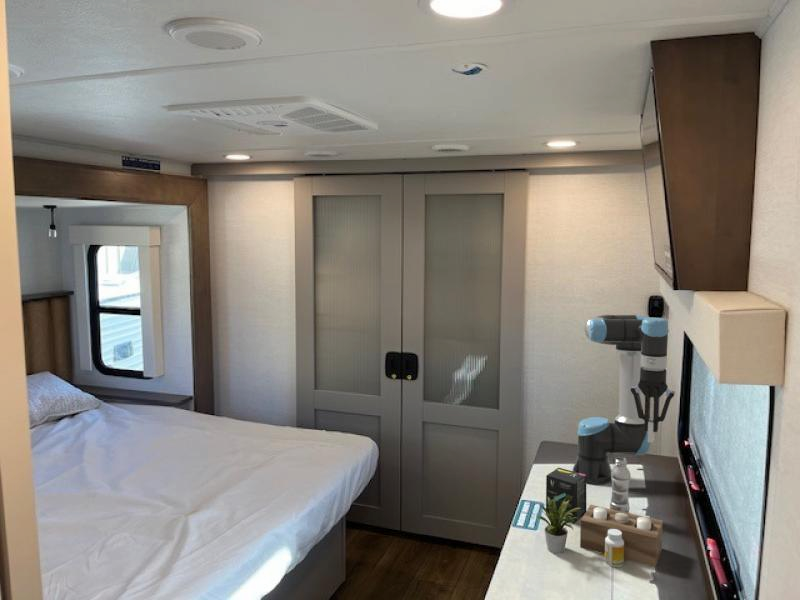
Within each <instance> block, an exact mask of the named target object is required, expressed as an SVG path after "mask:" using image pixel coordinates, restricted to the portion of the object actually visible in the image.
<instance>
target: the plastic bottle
mask: <svg viewBox="0 0 800 600" xmlns="http://www.w3.org/2000/svg"><path fill="white" fill-rule="evenodd" d="M627 460H628V459H627V458H625V457H622V456H620V457H619V456H618V457H615V460H614V461H615V462H614V463H615V465H614V467H613V468H611V470H612V471H611V479H612V481H611V491H612V492H611V498H610V502H609V509H612V510H617V511H621V512H626V513H630V508H631V507H630V502H629V489H630V488H629V487H630V481H631V475H632V474H631V472H630V470H629V468H628V467H627V466H628V462H627Z"/></svg>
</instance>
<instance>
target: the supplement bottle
mask: <svg viewBox="0 0 800 600" xmlns="http://www.w3.org/2000/svg"><path fill="white" fill-rule="evenodd" d="M624 561H625V559H624V540H623V539H622V532H621V531H620V530H617V529H609V530H608V536H607V537H606V538H605V554H604V562H605V564H606V565H607V566H609V567H613V568H619V567H622V566H623V565H624Z"/></svg>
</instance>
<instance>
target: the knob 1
mask: <svg viewBox="0 0 800 600" xmlns="http://www.w3.org/2000/svg"><path fill="white" fill-rule="evenodd" d="M601 507H602V506H599V507H597V508H594V517H593V518H596V519H601V520H605V521H607V510H606V509H604V508H605V507H603V508H601Z"/></svg>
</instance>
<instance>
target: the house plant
mask: <svg viewBox="0 0 800 600" xmlns="http://www.w3.org/2000/svg"><path fill="white" fill-rule="evenodd" d="M568 502H569V500H568V501H566V502H565V499H564V501H563V503H562V504H561V506H560V508H559V510H558V512H557V507H556V504H555V500H554V498H553V503H554V507H553V503H552V502H551V500H550V498H549V497H548V505H549V507H548V508H549V513H550V514H549V513H548V511H547V510H546V506H544V505H543V504H541V503H540V502H539V503H538V504H539V505H540V506H541V508H542V509H543V511H541V512H543V513H544V515H545V516H546V517H547V519H546V518H545V517H544V516H542V515H536V516H535V518H536V519H538V520H539V519H540V520H542V521H543V522H545V523H547V526H544V536H545V542H546V548H547V551H548V552H550V553H552V554H555V555H559V554H562V553H564V552H565V550H566V544H567V539H568V533H569V532H568V529H567V528H569V529H572V530H573V531H574V527H573V526H572V525H571V523H570V522H573V521H575V520H573V519H574V518H578V517H573V518H572V517H571V516H568V515H569V514H571V513H572V512H575V511H574V510H576V509H580V508H575V509H572V510H570V511H567V512H564V511H565V509H566V508H567V504H568ZM546 514H547V515H546ZM564 514H565V515H564ZM563 515H564V516H563ZM571 515H573V514H571ZM562 516H563V517H562ZM561 517H562V518H561ZM566 518H570V519H568V520H567V519H566ZM565 519H566V521H564V520H565ZM569 523H570V524H569Z"/></svg>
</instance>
